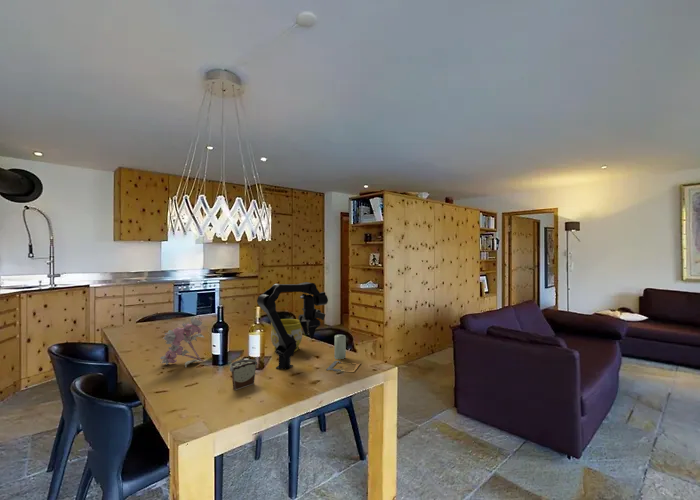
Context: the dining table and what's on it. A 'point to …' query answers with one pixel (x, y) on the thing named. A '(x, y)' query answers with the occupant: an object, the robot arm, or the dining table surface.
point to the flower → (178, 336)
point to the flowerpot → (291, 328)
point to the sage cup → (340, 347)
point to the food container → (243, 373)
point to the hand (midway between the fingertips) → (308, 336)
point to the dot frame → (333, 366)
